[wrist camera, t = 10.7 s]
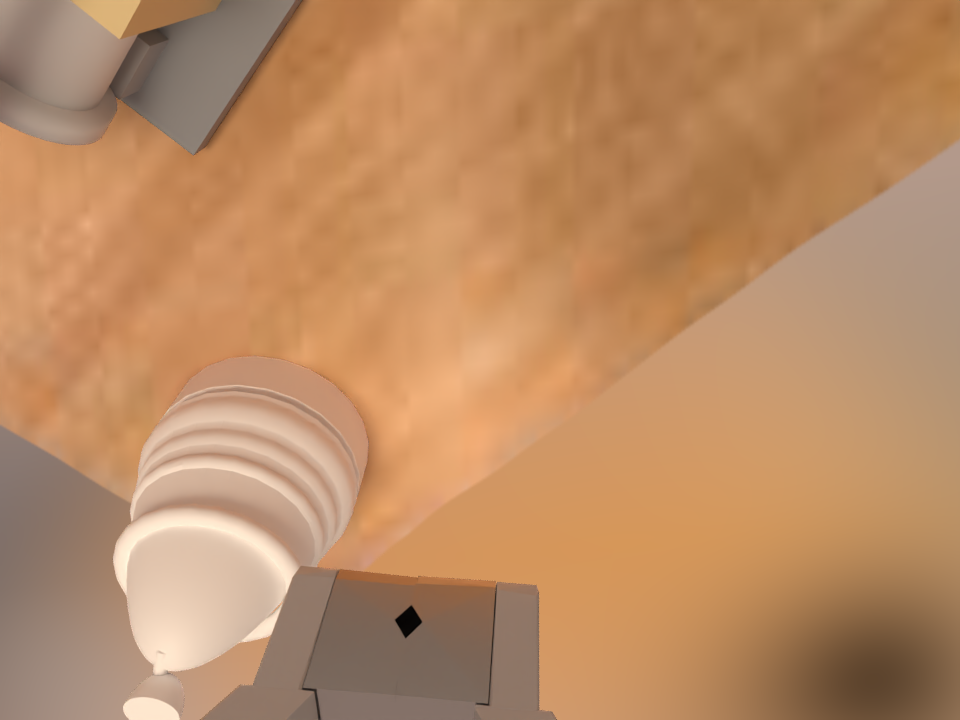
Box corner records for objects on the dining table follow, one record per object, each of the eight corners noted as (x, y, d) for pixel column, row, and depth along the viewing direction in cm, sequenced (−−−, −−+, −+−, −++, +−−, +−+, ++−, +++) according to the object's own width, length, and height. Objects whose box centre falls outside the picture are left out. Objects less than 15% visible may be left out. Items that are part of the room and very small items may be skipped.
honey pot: (351, 527, 51) (279, 788, 36) (170, 486, 50) (15, 739, 34) (385, 384, 44) (315, 630, 29) (177, 333, 43) (-11, 562, 28)
